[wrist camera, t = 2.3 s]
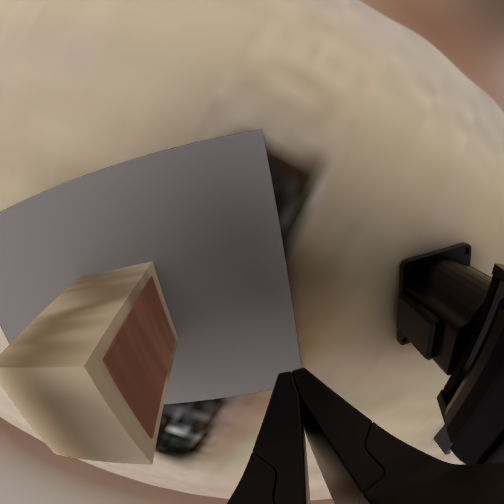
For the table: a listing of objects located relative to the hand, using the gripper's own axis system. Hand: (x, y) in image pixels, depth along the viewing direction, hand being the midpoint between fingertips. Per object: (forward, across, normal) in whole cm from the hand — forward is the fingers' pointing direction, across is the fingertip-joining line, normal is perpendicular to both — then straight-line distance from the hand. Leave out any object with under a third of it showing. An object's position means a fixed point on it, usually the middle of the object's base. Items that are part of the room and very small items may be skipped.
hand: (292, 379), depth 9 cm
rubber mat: (+8, +10, 0) cm, 13 cm away
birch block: (+8, +8, 0) cm, 11 cm away
